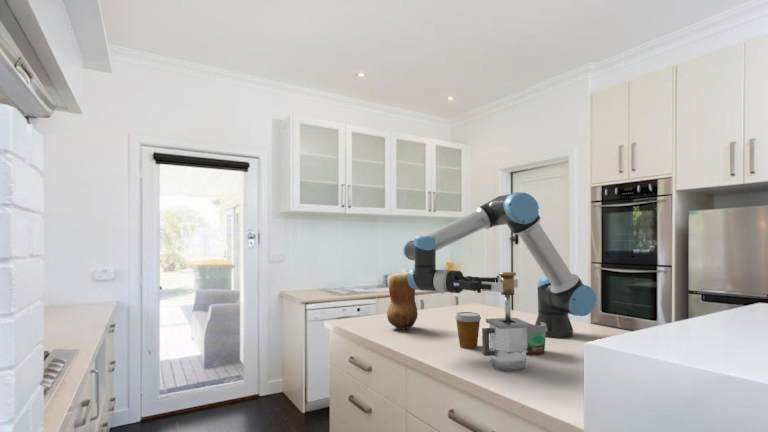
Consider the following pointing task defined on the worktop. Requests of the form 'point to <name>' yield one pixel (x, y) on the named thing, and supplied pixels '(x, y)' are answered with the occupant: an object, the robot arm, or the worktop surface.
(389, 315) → the butternut squash
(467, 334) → the disposable coffee cup
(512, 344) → the press carafe
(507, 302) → the plunger
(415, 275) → the robot arm
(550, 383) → the worktop surface
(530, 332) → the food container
